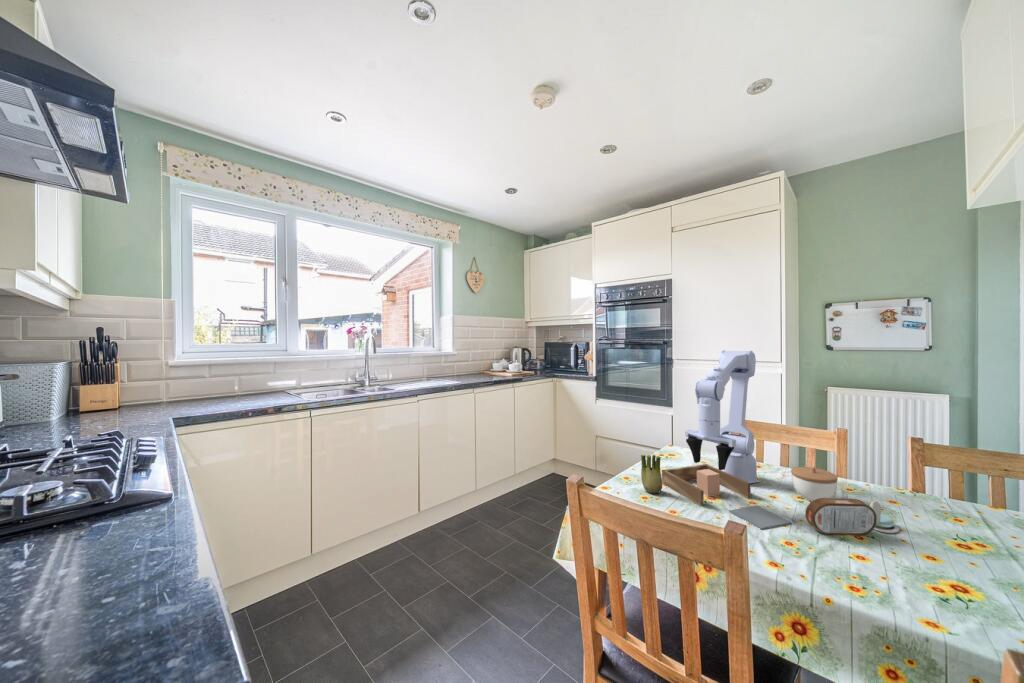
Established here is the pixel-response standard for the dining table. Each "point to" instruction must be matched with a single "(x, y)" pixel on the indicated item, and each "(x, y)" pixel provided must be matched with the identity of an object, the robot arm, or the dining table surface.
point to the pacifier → (883, 520)
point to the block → (708, 482)
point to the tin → (841, 516)
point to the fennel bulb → (651, 474)
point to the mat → (760, 517)
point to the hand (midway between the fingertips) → (709, 465)
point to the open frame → (680, 475)
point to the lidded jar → (814, 483)
